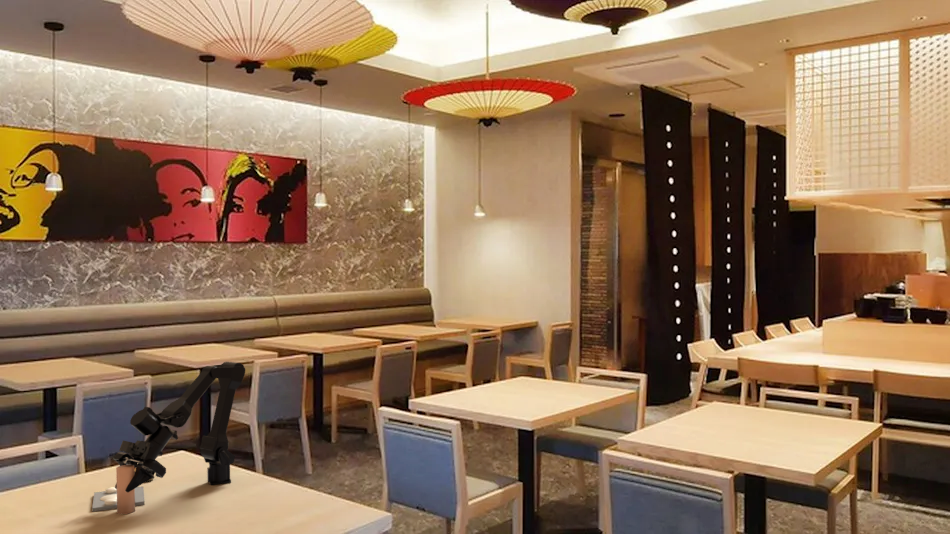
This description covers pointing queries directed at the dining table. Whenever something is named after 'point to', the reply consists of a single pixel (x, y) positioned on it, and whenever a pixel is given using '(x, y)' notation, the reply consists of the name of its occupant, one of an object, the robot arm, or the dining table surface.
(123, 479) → the canister
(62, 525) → the dining table surface
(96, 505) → the board
